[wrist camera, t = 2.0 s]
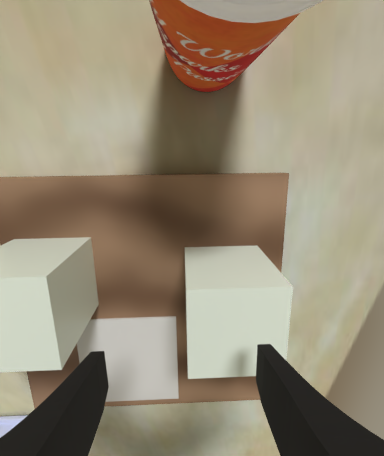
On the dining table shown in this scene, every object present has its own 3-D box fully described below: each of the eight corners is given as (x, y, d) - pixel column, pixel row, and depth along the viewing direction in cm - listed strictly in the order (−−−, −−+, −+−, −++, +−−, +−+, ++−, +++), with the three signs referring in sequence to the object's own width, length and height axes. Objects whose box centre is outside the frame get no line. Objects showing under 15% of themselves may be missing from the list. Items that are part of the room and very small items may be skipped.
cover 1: (98, 304, 22) (61, 369, 15) (27, 306, 22) (-43, 373, 15) (90, 237, 20) (46, 276, 14) (14, 239, 20) (-70, 279, 13)
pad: (178, 396, 25) (178, 398, 24) (86, 400, 24) (85, 402, 24) (175, 316, 22) (176, 317, 22) (74, 319, 22) (73, 321, 22)
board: (267, 390, 26) (271, 399, 25) (40, 399, 25) (34, 409, 24) (283, 172, 21) (288, 173, 20) (-4, 177, 20) (-14, 178, 19)
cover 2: (253, 309, 23) (284, 374, 16) (185, 312, 22) (187, 378, 16) (257, 245, 21) (293, 286, 14) (184, 247, 21) (186, 289, 14)
